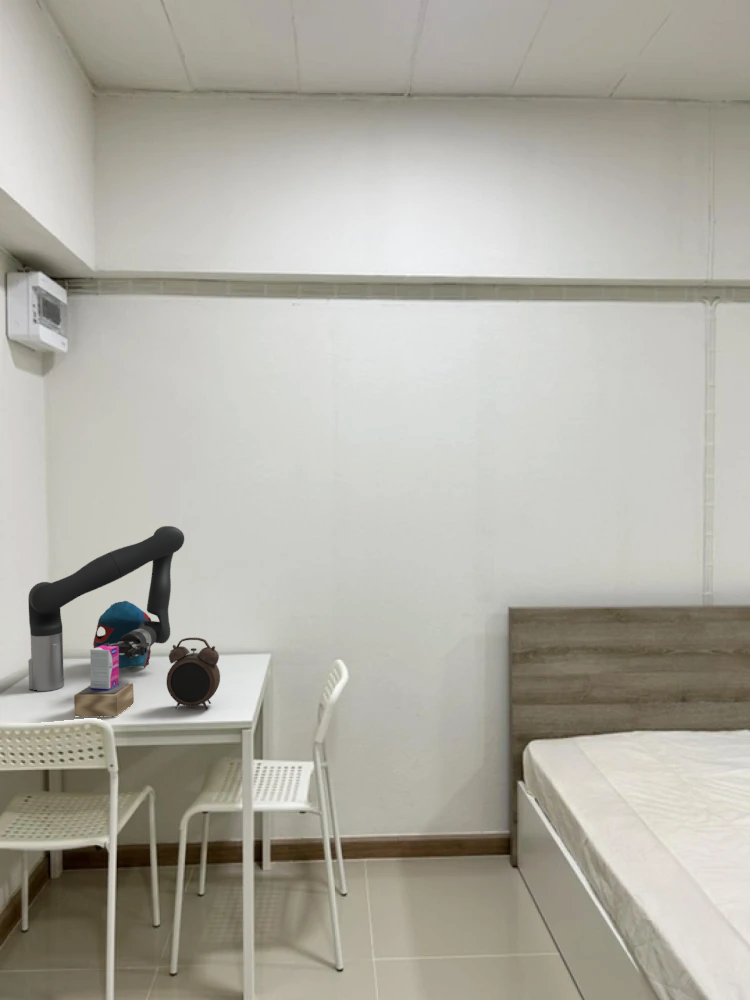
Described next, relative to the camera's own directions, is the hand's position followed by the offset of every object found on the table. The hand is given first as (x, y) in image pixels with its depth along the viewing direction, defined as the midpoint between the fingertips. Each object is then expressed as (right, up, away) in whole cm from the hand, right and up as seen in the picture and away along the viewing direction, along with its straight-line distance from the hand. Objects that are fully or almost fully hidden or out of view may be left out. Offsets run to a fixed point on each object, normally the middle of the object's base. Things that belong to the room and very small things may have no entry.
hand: (114, 654), depth 216 cm
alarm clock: (+25, -14, -7) cm, 30 cm away
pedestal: (0, -14, -8) cm, 16 cm away
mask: (-11, -13, +41) cm, 44 cm away
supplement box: (0, -8, -8) cm, 11 cm away
